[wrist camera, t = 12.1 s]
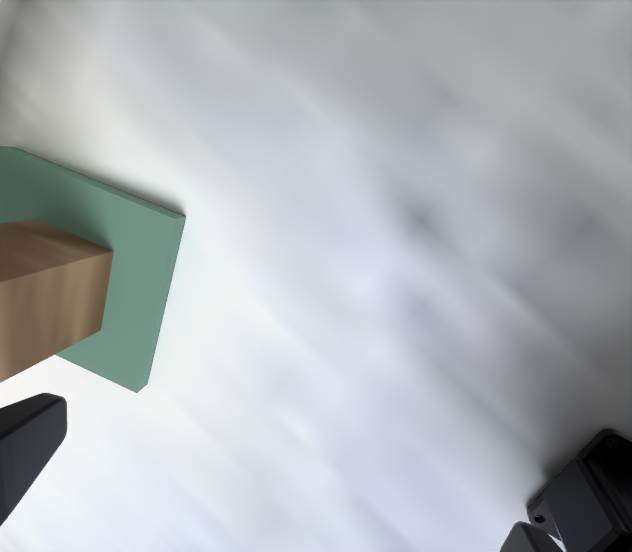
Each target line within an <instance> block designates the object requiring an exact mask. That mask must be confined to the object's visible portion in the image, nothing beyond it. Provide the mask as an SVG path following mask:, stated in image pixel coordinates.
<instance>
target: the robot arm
mask: <svg viewBox="0 0 632 552" xmlns="http://www.w3.org/2000/svg"><path fill="white" fill-rule="evenodd" d="M66 433H67V402H66V400H65V398H63V397H61V396H57V395H53V394H49V393H42V394H38V395H36V396H33V397H30V398H27V399H25V400H22V401H19V402H16V403H14V404H11V405H8V406H5V407H3V408H0V526H1V525H2V524H3V522H4V521H5V520H6V519H7V518H8V516H9V515H10V514H11V512H12V511H13V510H14V508H15V507H16V506H17V504H18V503H19V502H20V500H21V499H22V497H23V496H24V495H25V493H26V492H27V490H28V489H29V488H30V486H31V485H32V484H33V482H34V481H35V479H36V478H37V477H38V475H39V474H40V472H41V471H42V470H43V468H44V467H45V465H46V464H47V463H48V461H49V460H50V459H51V457H52V456H53V454H54V453H55V452H56V450H57V449H58V447H59V446H60V445H61V443H62V442H63V440H64V438H65V436H66ZM610 439H615V440H614V441H613V442H610V443H608V440H610ZM527 515H528V518H529V521H530V522H531V523H532V524H529V523H526V522H522V521H519V522H517V523H515V525H514V526H513V528H512V530H511V531H510V533H509V535H508V537H507V538H506V540H505V542H504V544H503V546H502V547H501V550H500V552H563V551H562V549H561V548H560V547H559V546H558V545H557V544H556V543H555V541H554V540H553V539H552V538H551V537H550V536H549V535H548V534H550V535H551V536H553V537H555V538H557V539H558V540H560V541H562V543H563V545H564V548H565V550H566V552H632V439H631V438H629V437H627V436H626V435H624V434H622V433H620V432H618V431H616V430H614V429H605V430H602V431H601V432H599V433H598V434H597V435H596V437H595V438H594V439H593V440H592V441H591V442H590V443H589V444H588V445H587V446H586V447H585V448H584V449H583V450H582V451H581V452H580V454H579V455H578V456H577V457H576V458H575V459H573V460H572V461H571V462H570V463H569V464H568V465H567V466H566V468H565V469H564V470H563V471H562V472H561V473H560V474H559V475H558V476H557V477H556V478H555V479H554V480H553V481H552V482H551V483H550V485H549V486H548V487H547V488H546V489H545V490H544V491H543V493H542V494H541V495H540V496H539V497H538V498H537V499H536V500H535V501H534V502H533V503H532V504H531V505H530V507H529V508H528V509H527ZM537 515H542V516H540V517H536V516H537ZM547 533H548V534H547Z"/></svg>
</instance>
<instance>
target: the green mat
mask: <svg viewBox="0 0 632 552" xmlns="http://www.w3.org/2000/svg"><path fill="white" fill-rule="evenodd" d="M185 218H186V217H185V216H182V215H180V214H178V213H175V212H173V211H170V210H168V209H165V208H163V207H160V206H158V205H155V204H153V203H150V202H148V201H145V200H143V199H140V198H138V197H135V196H133V195H130V194H128V193H126V192H123V191H121V190H118V189H116V188H113V187H111V186H108V185H106V184H103V183H101V182H98V181H96V180H93V179H91V178H88V177H86V176H83V175H81V174H78V173H76V172H74V171H71V170H69V169H66V168H64V167H61V166H59V165H56V164H54V163H51V162H49V161H46V160H44V159H41V158H39V157H36V156H34V155H31V154H29V153H26V152H24V151H22V150H19V149H17V148H14V147H2V146H0V223H8V222H15V221H23V220H31V219H38V220H40V221H43V222H45V223H47V224H50V225H52V226H55V227H57V228H59V229H62V230H64V231H67V232H69V233H72V234H74V235H76V236H79V237H81V238H84V239H86V240H88V241H91V242H93V243H96V244H98V245H101V246H103V247H105V248H108V249H110V250H113V251H114V253H113V260H112V266H111V272H110V278H109V284H108V290H107V296H106V302H105V308H104V314H103V321H102V327H101V330H100V331H99V332H97V333H95V334H93V335H91V336H89V337H87V338H85V339H83V340H81V341H79V342H77V343H75V344H74V345H72V346H70V347H68V348H66V349H64V350H62V351H60V352H58V353H56V354H55V355H57V356H59V357H61V358H64V359H66V360H68V361H70V362H72V363H74V364H76V365H78V366H81V367H83V368H85V369H87V370H89V371H91V372H93V373H95V374H97V375H100V376H102V377H104V378H106V379H108V380H110V381H112V382H114V383H117V384H119V385H121V386H123V387H125V388H127V389H129V390H131V391H134V392H136V393H137V392H138V391H140V390H141V389H142V388H143V387H145V386H146V385H147V383H148V379H149V374H150V370H151V366H152V361H153V357H154V353H155V348H156V344H157V340H158V335H159V331H160V327H161V322H162V318H163V314H164V309H165V305H166V301H167V296H168V292H169V288H170V283H171V279H172V275H173V270H174V266H175V262H176V257H177V253H178V249H179V244H180V240H181V236H182V231H183V227H184V223H185Z"/></svg>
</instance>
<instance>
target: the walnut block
mask: <svg viewBox="0 0 632 552" xmlns="http://www.w3.org/2000/svg"><path fill="white" fill-rule="evenodd" d="M113 253H114V251H113V250H110V249H108V248H105V247H103V246H101V245H98V244H96V243H93V242H91V241H88V240H86V239H84V238H81V237H79V236H76V235H74V234H72V233H69V232H67V231H64V230H62V229H59V228H57V227H55V226H52V225H50V224H47V223H45V222H43V221H40V220H38V219H31V220H23V221H15V222H8V223H0V383H1V382H3V381H4V380H6V379H8V378H10V377H12V376H14V375H16V374H18V373H20V372H22V371H24V370H26V369H27V368H29V367H31V366H33V365H35V364H37V363H39V362H41V361H43V360H45V359H47V358H49V357H51V356H52V355H54V354H56V353H58V352H60V351H62V350H64V349H66V348H68V347H70V346H72V345H74V344H75V343H77V342H79V341H81V340H83V339H85V338H87V337H89V336H91V335H93V334H95V333H97V332H99V331H100V330H101V327H102V321H103V314H104V308H105V302H106V296H107V290H108V284H109V278H110V272H111V266H112V260H113Z"/></svg>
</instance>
